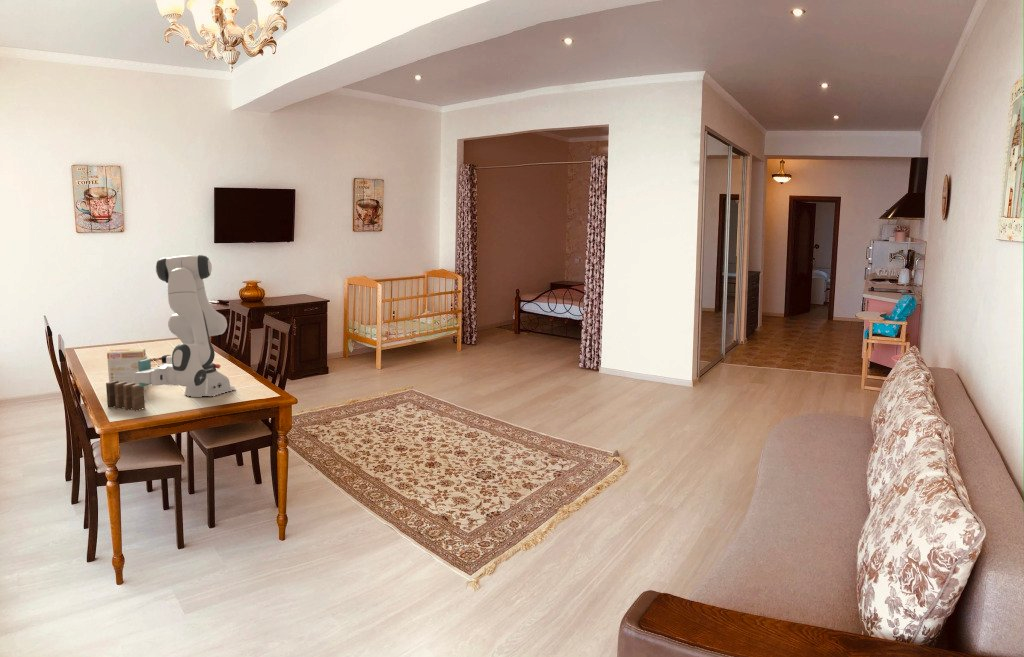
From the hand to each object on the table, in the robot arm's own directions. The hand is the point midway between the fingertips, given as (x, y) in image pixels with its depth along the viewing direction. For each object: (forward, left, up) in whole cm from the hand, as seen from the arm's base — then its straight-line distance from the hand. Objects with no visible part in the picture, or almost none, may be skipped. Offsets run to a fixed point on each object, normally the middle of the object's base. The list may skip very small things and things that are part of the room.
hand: (143, 371), depth 287 cm
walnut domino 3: (+1, -4, -17) cm, 18 cm away
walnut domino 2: (+3, -8, -17) cm, 19 cm away
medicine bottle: (-35, -47, -18) cm, 61 cm away
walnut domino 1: (+4, -12, -17) cm, 21 cm away
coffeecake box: (-11, -38, -18) cm, 43 cm away
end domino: (+6, -16, -17) cm, 24 cm away
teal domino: (0, +1, -6) cm, 6 cm away
